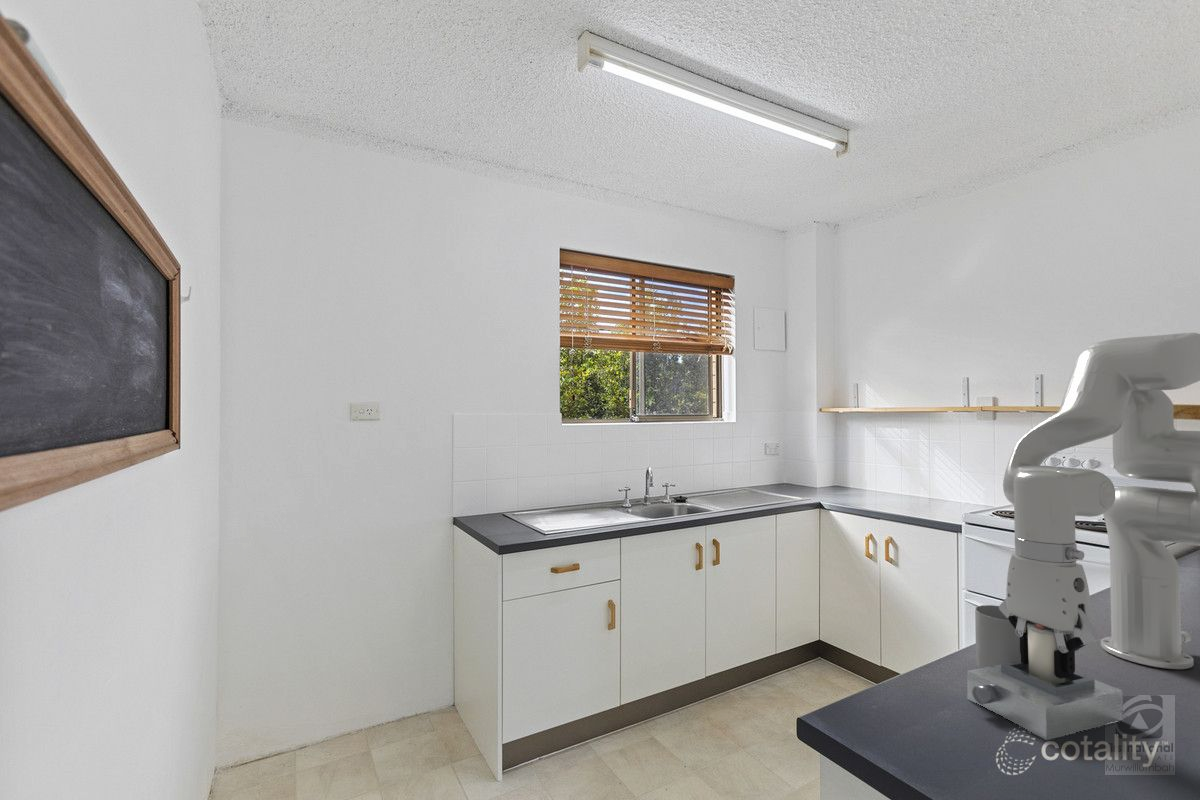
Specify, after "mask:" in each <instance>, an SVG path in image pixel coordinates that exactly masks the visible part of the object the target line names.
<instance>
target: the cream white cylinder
mask: <svg viewBox="0 0 1200 800" xmlns="http://www.w3.org/2000/svg"><path fill="white" fill-rule="evenodd" d="M1027 627H1028V661H1029V674H1031V675H1033V676H1036V677H1038V678H1040V679H1043V680H1045V681H1047V682H1050V683H1052V684H1058V683H1063V682H1065V678H1061V679H1060V678H1058V677H1056V676H1055V674H1054V651H1055V650H1059V649H1058V645H1057V641H1056V637H1055V633H1054V630H1053V629H1050V628H1047V627H1045V626H1042V625H1040V624H1037V623H1033V622H1030V623H1027Z"/></svg>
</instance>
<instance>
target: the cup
mask: <svg viewBox="0 0 1200 800" xmlns="http://www.w3.org/2000/svg"><path fill="white" fill-rule="evenodd" d="M999 606H1000V605H992V604H991V605H990V604H982V605H979V606H978V605H977V606H975V610H974V612H975V615H974V617H975V620H974V621H975V622H974V623H975V666H976V665H977V666H978V667H979V668H985V667H990V666H996V665H1001V664H1004V663H1009V662H1015V661H1020V660H1021V654H1020V637H1019V636H1017V635H1016V633H1015V628H1014V627H1013V625H1012V624H1011V623H1010V621H1009V619H1008V618H1007V617H1006V616H1005V615H1004V614H1003V613H1002V612H1001V611H1000V610H999ZM977 666H976V667H977ZM978 667H977V668H978ZM979 668H978V669H979Z"/></svg>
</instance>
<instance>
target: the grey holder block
mask: <svg viewBox="0 0 1200 800" xmlns="http://www.w3.org/2000/svg"><path fill="white" fill-rule="evenodd" d="M966 677H967V678H966V679H967V680H966V682H967V685H966V687H967V689H966V690H967V695H966V698H967V700H969V701H970V702H972V703H975V704H976V703H977V704H976V705H978V704H979V705H978V706H980V705H981V706H983V707H985V708H987V709H989V710H991V711H993V712H995V713H997V714H999V715H1001V716H1003V717H1005V718H1007V719H1008V720H1010V721H1012V722H1014V723H1015V724H1014V723H1013V724H1014V725H1016V724H1018V725H1019V726H1018V725H1017V726H1018V727H1020V726H1021V727H1020V728H1022V727H1023V728H1022V729H1024V728H1025V729H1024V730H1026V729H1027V730H1026V731H1028V732H1029V733H1031V732H1032V733H1031V734H1034V735H1036V736H1037V737H1039V738H1041V739H1043V740H1046V741H1050V740H1053V739H1058V738H1061V737H1066V736H1070V735H1073V734H1077V733H1076V732H1078V733H1080V732H1079V731H1082V732H1084V731H1083V730H1086V731H1088V730H1087V729H1090V730H1092V729H1091V728H1094V729H1096V728H1095V727H1098V726H1102V725H1105V724H1107V723H1110V722H1115V721H1118V720H1123V721H1124V710H1123V709H1124V704H1123V703H1124V700H1123V695H1124V693H1123V692H1124V691H1123V690H1122V689H1119V688H1117V687H1114V686H1112V685H1109V684H1106V683H1105V682H1101V681H1099V680H1097V679H1093V678H1092V677H1089V676H1087V675H1085V674H1081V673H1079V672H1076V671H1075V672H1074V675H1073V676H1071V677H1066V678H1065V682H1063V683H1058V684H1052V683H1050V682H1047V681H1045V680H1043V679H1040V678H1038V677H1036V676H1033V675H1031V674H1029V664H1024V663H1022V662H1021V660H1020V661H1015V662H1009V663H1004V664H1001V665H996V666H990V667H985V668H976V669H975V668H974V669H969V670H967V671H966ZM981 706H980V707H981ZM983 707H982V708H983ZM985 708H984V709H985ZM987 709H986V710H987ZM989 710H988V711H989ZM991 711H990V712H991ZM993 712H992V713H993ZM995 713H994V714H995ZM997 714H996V715H997ZM999 715H998V716H999ZM1001 716H1000V717H1001ZM1003 717H1002V718H1003ZM1005 718H1004V719H1005ZM1008 720H1007V721H1008ZM1010 721H1009V722H1010ZM1012 722H1011V723H1012ZM1102 727H1103V726H1102ZM1098 728H1099V727H1098ZM1069 734H1070V735H1069ZM1065 735H1066V736H1065Z"/></svg>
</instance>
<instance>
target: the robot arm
mask: <svg viewBox="0 0 1200 800" xmlns="http://www.w3.org/2000/svg"><path fill="white" fill-rule="evenodd" d="M1198 382H1200V333H1198V332H1185V333H1184V332H1183V333H1181V332H1180V333H1171V334H1170V333H1169V334H1160V335H1159V334H1158V335H1146V336H1145V335H1144V336H1133V337H1132V336H1131V337H1121V338H1114V339H1108V340H1103V341H1098V342H1096V343H1094V344H1091V345H1090V346H1088V347H1087V348H1086V349H1084V350H1082V352H1080V354H1079V355H1078V356H1077V358H1076V360H1075V363H1074V366H1073V369H1072V371H1071V374H1070V377H1069V380H1068V383H1067V386H1066V389H1065V392H1064V395H1063V398H1062V401H1061V404H1060V406H1059V409H1058V411H1057V412H1056V413H1055V414H1053V415H1051V416H1049V417H1047V418H1046V419H1045V420H1043V421H1041V422H1040V423H1039V424H1037V425H1036V426H1034V427H1032V428H1031V430H1029V431H1028V432H1027V433H1025V434H1024V435H1023V436H1022V437H1020V439H1019V440H1018V441H1017V443H1016V444H1015V445H1014V448H1013V449H1012V452H1011V455H1010V457H1009V460H1008V462H1007V466H1006V469H1005V472H1004V475H1003V482H1002V487H1003V493H1004V496H1005V498H1006V500H1007V501H1009V503H1010V504H1012V505H1013V508H1014V512H1013V513H1014V517H1013V518H1014V519H1013V520H1014V521H1013V522H1014V553H1013V554H1011V557H1010V558H1009V559H1010V560H1009V564H1008V568H1007V577H1006V588H1005V589H1006V595H1005V597H1006V598H1005V599H1004V600H1003V601H1002V602H1001V603H1000V605H998V606H999V610H1000V611H1001V612H1002V613H1003V614H1004V615H1005V616H1006V617H1007V618H1008V619H1009V621H1010V623H1011V624H1012V625H1013V627H1014V628H1015V633H1016V635H1017V636H1019V637H1020V654H1021V662H1022V663H1024V664H1029V661H1028V627H1027V623H1030V622H1033V623H1037V624H1040V625H1042V626H1045V627H1047V628H1050V629H1053V630H1054V633H1055V637H1056V641H1057V645H1058V649H1059V650H1055V651H1054V674H1055V676H1056V677H1058V678H1060V679H1061V678H1066V677H1071V676H1073V675H1074V672H1076V655H1075V654H1076V652H1077V651H1079V650H1080V649H1081V648H1083V647H1085V646H1086V645H1089V644H1093V643H1097V642H1100V647H1101V648H1102V649H1103V650H1104V651H1106V652H1107V653H1109V654H1111V655H1113V656H1115V657H1118V658H1120V659H1123V660H1126V661H1129V662H1133V663H1136V664H1139V665H1142V666H1143V665H1144V666H1148V667H1154V668H1160V669H1167V670H1186V669H1191V668H1192V667H1194V662H1195V661H1194V660H1195V659H1194V658H1193V657H1192V656H1191V655H1190V654H1188V653H1187V652H1185V651H1183V650H1182V644H1184V643H1188V642H1190V641H1191V640H1192V636H1191V634H1190V633H1188V632H1186V631H1185V630H1184V631H1183V630H1182V625H1181V621H1182V620H1181V618H1182V617H1181V579H1180V575H1181V574H1180V567H1179V564H1178V561H1177V559H1176V558H1175V556H1174V555H1173V554H1172V553H1171V551H1170V550H1169V549H1168V548H1167V547H1166V546H1165V545H1164V543H1163V542H1170V543H1178V544H1183V545H1190V546H1191V545H1192V546H1198V547H1200V430H1177V429H1175V424H1174V423H1175V421H1174V404H1173V402H1172V400H1171V398H1170V397H1169V396H1168V395H1167V394H1166V393H1165V392H1164V391H1171V390H1179V389H1182V388H1187V387H1188V386H1190V385H1193V384H1195V383H1198ZM1110 436H1112V459H1113V466H1114V469H1115V470H1116V472H1117V473H1119V475H1120V476H1123V477H1126V478H1130V479H1135V480H1136V479H1137V480H1144V481H1155V482H1166V483H1167V482H1169V483H1180V484H1189V485H1191V486H1192V487H1193V488H1194V491H1190V490H1182V489H1181V490H1180V489H1170V488H1160V487H1148V486H1138V485H1137V486H1132V485H1131V486H1129V485H1128V486H1120V487H1115V485H1114V484H1113V481H1112V480H1111V479H1110V478H1109V476H1108V475H1105V474H1104V473H1102V472H1100V471H1098V470H1093V469H1088V468H1077V467H1064V466H1055V465H1053V466H1052V465H1042V463H1043V462H1044V461H1045V460H1047V459H1048V458H1049V457H1051V456H1053V455H1054V454H1057V453H1058V452H1062V451H1064V450H1067V449H1069V448H1074V447H1076V446H1081V445H1083V444H1087V443H1091V442H1094V441H1095V442H1096V441H1098V440H1101V439H1104V438H1106V437H1110ZM1100 515H1103V518H1104V523H1105V527H1106V528H1105V529H1106V531H1107V537H1108V545H1109V547H1108V548H1109V573H1110V574H1109V575H1110V576H1109V577H1110V579H1109V582H1110V585H1109V586H1110V626H1111V627H1110V629H1111V631H1110V632H1111V633H1110V634H1111V635H1110V636H1105V637H1102V639H1101V635H1099V633H1098V631H1097V630H1096V628H1095V626H1094V625H1093V615H1092V613H1093V612H1092V602H1091V596H1090V595H1091V594H1090V589H1089V585H1088V584H1089V583H1088V581H1087V576H1086V572H1085V570H1084V566H1083V564H1080V563H1077V561H1078V560H1079V561H1082V560H1084V558H1085V552H1084V551H1082V550H1079V549H1077V548H1078V547H1077V544H1076V517H1087V518H1088V517H1089V518H1090V517H1091V518H1092V517H1099V516H1100ZM1076 629H1077V630H1080V632H1081V635H1078V636H1077V632H1076Z"/></svg>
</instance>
